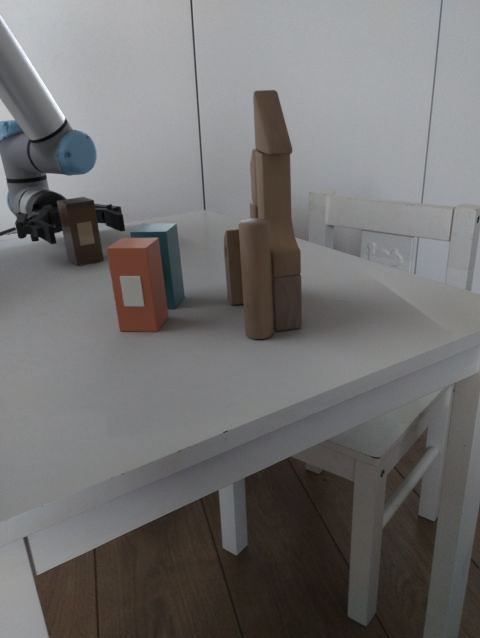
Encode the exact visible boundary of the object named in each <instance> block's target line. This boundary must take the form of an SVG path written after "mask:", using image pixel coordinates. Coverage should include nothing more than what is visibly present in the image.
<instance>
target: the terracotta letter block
mask: <svg viewBox="0 0 480 638" xmlns="http://www.w3.org/2000/svg"><path fill="white" fill-rule="evenodd" d="M106 255H107V261H108V267H109V272H110V279H111V285H112V290H113V297H114V303H115V309H116V315H117V321H118V327H119V331H120V332H143V333H144V332H146V333H147V332H151V333H153V332H154V333H155V332H156V333H157V332H158V331H159V330H160V329H161V328H162V326H163V325H164V324H165V322H166V321H167V320H168V319H169V309H167V301H166V293H165V285H164V277H163V269H162V261H161V253H160V244H159V238H131V237H121V238H119V239H118V240H116V241H115V242H113V243H111V244H110V245H109V246H107V247H106Z"/></svg>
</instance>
